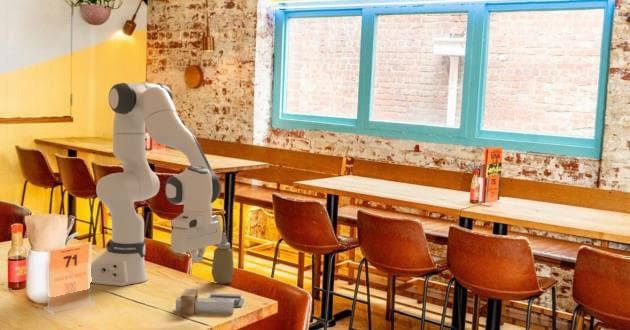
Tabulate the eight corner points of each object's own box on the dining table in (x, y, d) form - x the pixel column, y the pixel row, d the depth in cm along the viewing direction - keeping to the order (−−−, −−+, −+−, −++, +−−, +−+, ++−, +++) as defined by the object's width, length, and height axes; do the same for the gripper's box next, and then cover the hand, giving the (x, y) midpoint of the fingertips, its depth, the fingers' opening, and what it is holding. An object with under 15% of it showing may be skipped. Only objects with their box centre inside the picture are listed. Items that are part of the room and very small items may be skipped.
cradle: (204, 305, 241) (204, 299, 241) (208, 298, 249) (208, 292, 249) (241, 307, 241) (241, 301, 241) (244, 300, 249) (244, 294, 249)
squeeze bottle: (229, 286, 265) (231, 236, 263) (208, 283, 267) (209, 234, 265) (236, 280, 273) (238, 232, 271) (215, 278, 275) (216, 230, 273)
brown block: (180, 314, 231) (180, 295, 231) (184, 306, 239) (185, 288, 238) (193, 315, 231) (193, 296, 231) (197, 307, 239) (197, 289, 238)
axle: (175, 313, 234) (175, 300, 233) (177, 309, 237) (177, 297, 237) (232, 315, 234) (233, 302, 234) (234, 311, 238) (234, 299, 237)
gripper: (211, 213, 242) (211, 255, 243) (167, 221, 224) (167, 266, 226) (226, 215, 238) (226, 257, 240) (183, 224, 221) (183, 269, 222)
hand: (197, 262), depth 233 cm, fingers closed
